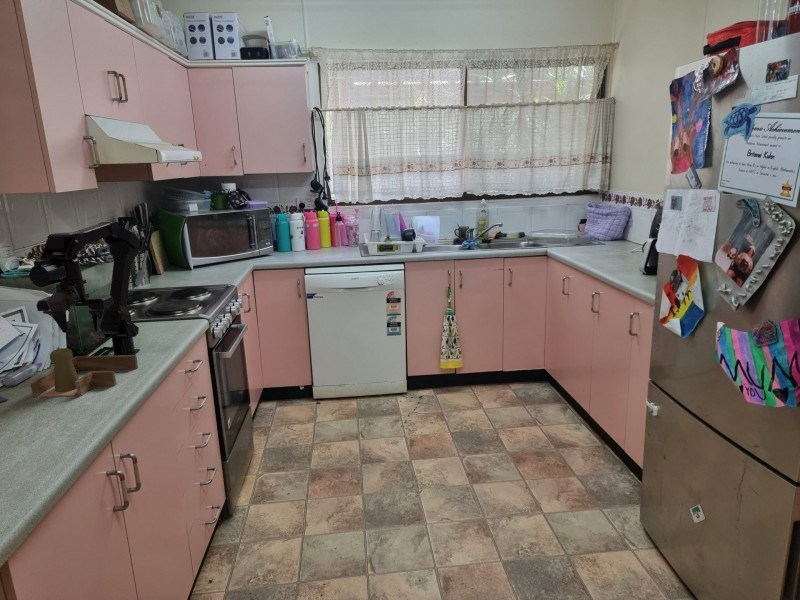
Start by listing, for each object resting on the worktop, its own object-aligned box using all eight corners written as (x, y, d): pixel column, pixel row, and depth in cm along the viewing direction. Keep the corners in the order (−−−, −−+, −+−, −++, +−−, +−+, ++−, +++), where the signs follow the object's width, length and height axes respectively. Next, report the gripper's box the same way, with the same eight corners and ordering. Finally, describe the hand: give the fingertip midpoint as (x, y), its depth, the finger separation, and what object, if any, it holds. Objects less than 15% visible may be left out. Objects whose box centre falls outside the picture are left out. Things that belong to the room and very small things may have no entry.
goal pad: (62, 382, 147) (62, 381, 147) (94, 381, 147) (93, 380, 147) (40, 396, 138) (40, 395, 138) (74, 395, 138) (73, 394, 138)
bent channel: (77, 369, 157) (74, 356, 156) (138, 367, 156) (136, 355, 155) (33, 396, 138) (30, 382, 137) (102, 395, 138) (99, 381, 137)
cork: (85, 382, 146) (77, 345, 143) (73, 391, 140) (64, 353, 137) (63, 383, 145) (55, 346, 143) (50, 392, 140) (41, 354, 137)
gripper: (16, 286, 137) (29, 342, 141) (86, 284, 137) (97, 340, 141) (44, 277, 148) (56, 329, 152) (109, 275, 148) (119, 327, 152)
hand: (81, 332), depth 149 cm, fingers open, 9 cm apart
